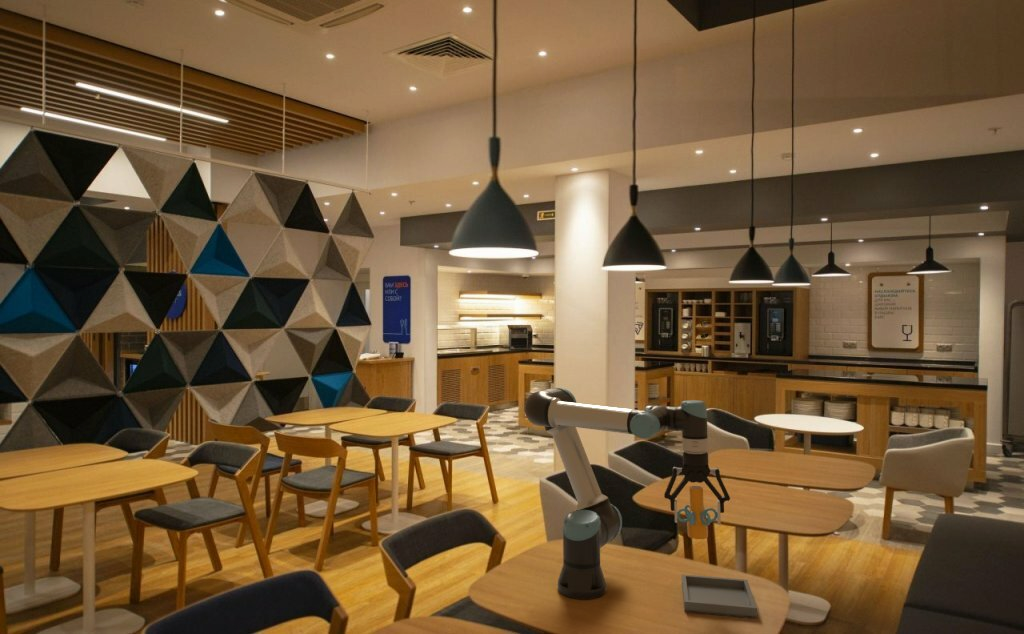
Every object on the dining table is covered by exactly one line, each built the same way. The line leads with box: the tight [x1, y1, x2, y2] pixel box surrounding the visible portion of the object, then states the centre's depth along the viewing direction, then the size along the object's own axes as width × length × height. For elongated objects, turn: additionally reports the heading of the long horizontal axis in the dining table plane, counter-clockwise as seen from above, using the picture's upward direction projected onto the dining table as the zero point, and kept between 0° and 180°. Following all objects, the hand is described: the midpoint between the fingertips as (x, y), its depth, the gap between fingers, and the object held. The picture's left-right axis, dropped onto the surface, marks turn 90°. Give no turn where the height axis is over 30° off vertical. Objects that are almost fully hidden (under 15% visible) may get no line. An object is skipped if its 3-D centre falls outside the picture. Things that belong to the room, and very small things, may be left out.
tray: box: [681, 573, 758, 619], centre depth 194 cm, size 20×20×3 cm
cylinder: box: [677, 485, 717, 540], centre depth 196 cm, size 12×10×15 cm
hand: (697, 522), depth 196 cm, fingers closed on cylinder, 12 cm apart
